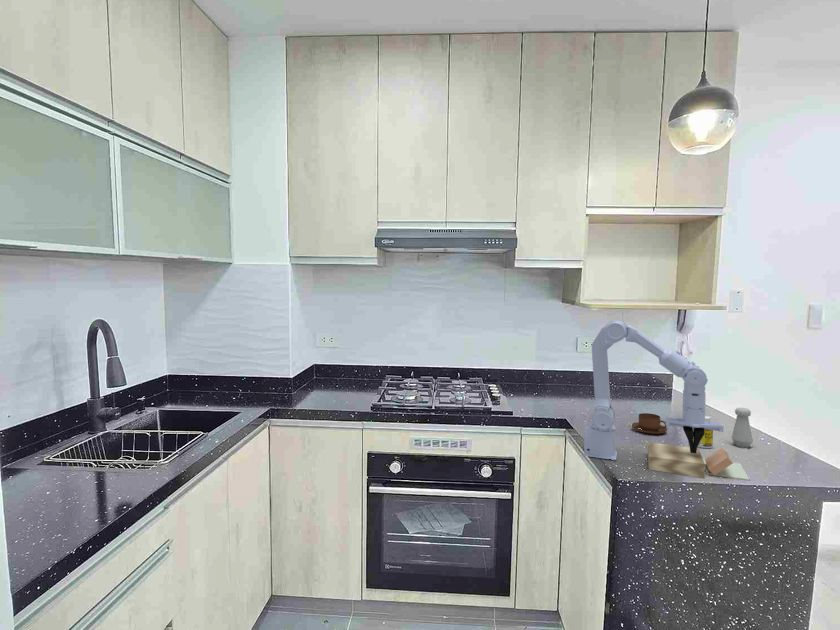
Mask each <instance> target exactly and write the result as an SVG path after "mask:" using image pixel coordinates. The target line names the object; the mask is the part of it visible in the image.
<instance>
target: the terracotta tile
mask: <svg viewBox="0 0 840 630" xmlns="http://www.w3.org/2000/svg"><path fill="white" fill-rule="evenodd" d="M704 459H705V462H706V464H707V467H708V469H709V470H710V471H711V472H712V473H713V474H714V475H713V476H716V474H717V473H719V472H720V471H722V470H724V469H725V468H727V467H728V466H730V465H731V464H733V463H734V462H733V461H732V459H731V457H730V456H729V454H728V452H727V451H726V450H725V449H723V447H720V448H719V449H717V450H716V451H714V452H713V453H712V454H710V455H709V456H707V457H706V458H704Z"/></svg>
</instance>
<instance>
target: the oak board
mask: <svg viewBox="0 0 840 630" xmlns="http://www.w3.org/2000/svg"><path fill="white" fill-rule="evenodd" d="M703 459H704V458H703V456H702V453H701V451H700V448H697V451H696V453H691V452H690V446H680V445H672V444H666V443H665V444H664V443H657V442H648V441H647V462H648V465H647V466H648V470H649V471H657V472H662V473H669V474H675V475H683V476H690V477H695V478H701V479H702V478H703V479H705V477H706V476H705V474H706V473H705V472H706V470H705V463H704V461H703Z"/></svg>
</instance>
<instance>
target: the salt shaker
mask: <svg viewBox="0 0 840 630" xmlns="http://www.w3.org/2000/svg"><path fill="white" fill-rule="evenodd" d="M734 413H735V415H736V419H735V423H734V426H733V430H732V435H731V441H732V442H733V444H734V446H735V447H737V448H743V449H749V448H750V446H751V445H752V444H753V441H754V440H753V439H754V438H753V435H752V431H751V425H750V419H749V417H751V415H752V411H751V410H750V409H749V408H746V407H737V408H735V409H734Z"/></svg>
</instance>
